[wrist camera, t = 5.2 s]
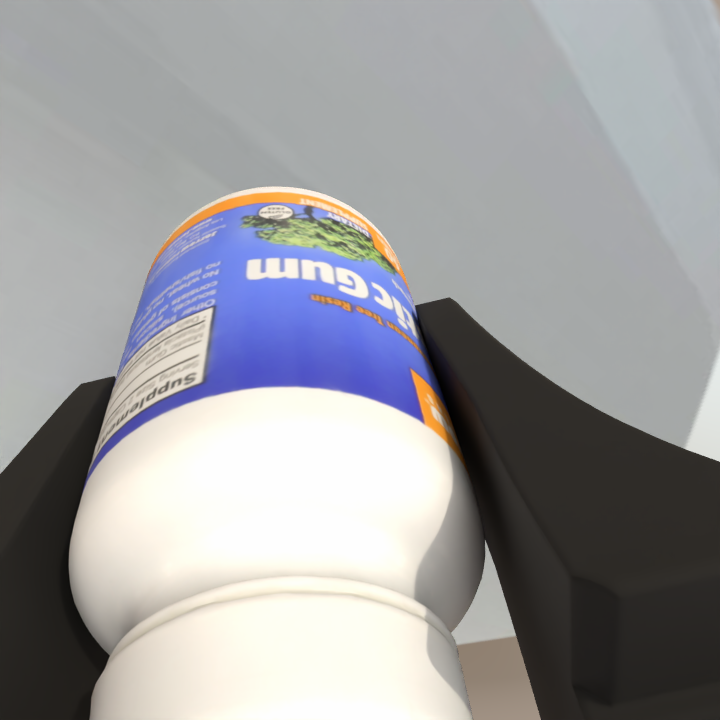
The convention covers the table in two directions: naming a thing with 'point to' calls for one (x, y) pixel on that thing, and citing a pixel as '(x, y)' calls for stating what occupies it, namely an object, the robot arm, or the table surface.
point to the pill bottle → (277, 483)
